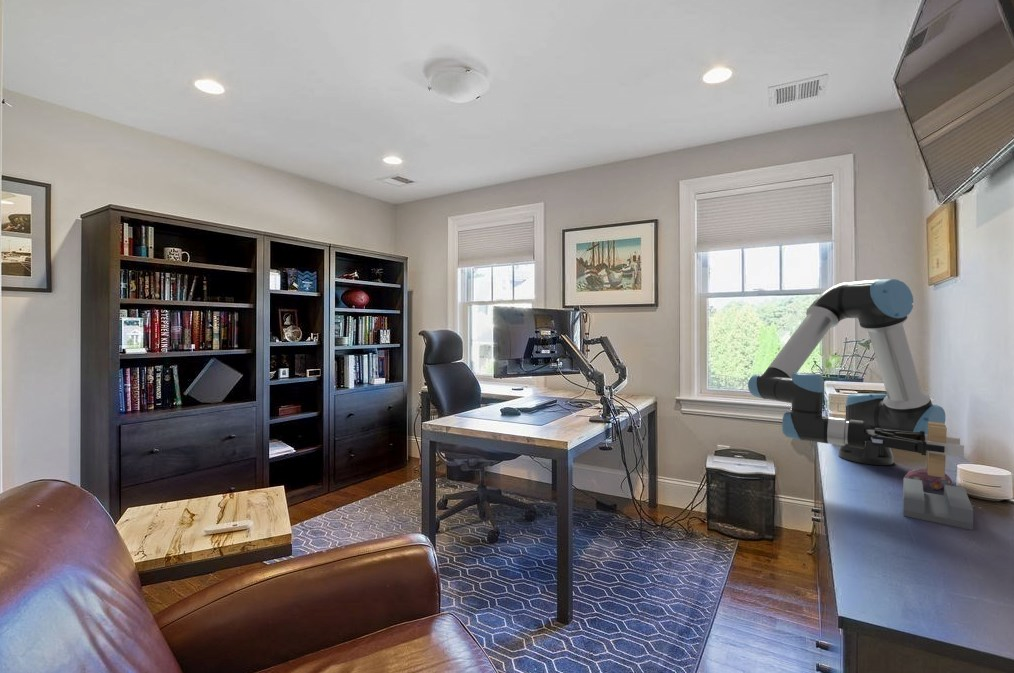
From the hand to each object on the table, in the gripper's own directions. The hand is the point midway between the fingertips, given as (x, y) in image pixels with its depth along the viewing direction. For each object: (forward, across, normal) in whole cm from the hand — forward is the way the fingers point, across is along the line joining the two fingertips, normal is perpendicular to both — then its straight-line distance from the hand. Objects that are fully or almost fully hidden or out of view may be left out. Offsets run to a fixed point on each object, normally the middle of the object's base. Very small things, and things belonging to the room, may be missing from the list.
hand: (961, 447), depth 113 cm
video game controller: (-5, -21, -17) cm, 28 cm away
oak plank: (-5, 0, -7) cm, 8 cm away
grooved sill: (-4, 0, -17) cm, 17 cm away
